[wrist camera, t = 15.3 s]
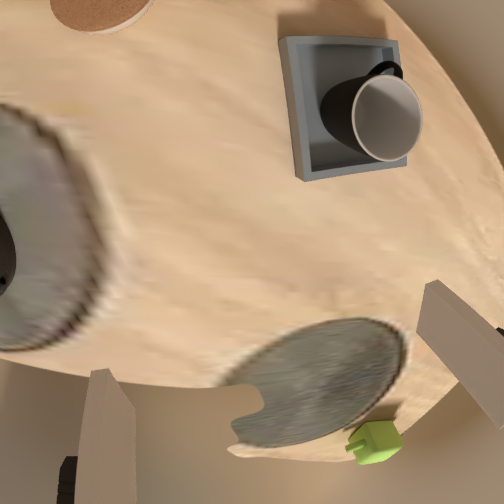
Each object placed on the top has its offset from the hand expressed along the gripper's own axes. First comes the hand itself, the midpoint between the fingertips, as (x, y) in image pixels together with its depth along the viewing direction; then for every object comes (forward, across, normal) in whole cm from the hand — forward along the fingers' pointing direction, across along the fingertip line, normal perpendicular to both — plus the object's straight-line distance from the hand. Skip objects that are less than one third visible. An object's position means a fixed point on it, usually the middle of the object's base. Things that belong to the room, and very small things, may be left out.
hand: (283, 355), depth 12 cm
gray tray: (+29, +18, +7) cm, 35 cm away
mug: (+28, +18, +7) cm, 35 cm away
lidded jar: (+29, -7, +24) cm, 38 cm away
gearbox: (+29, +26, -72) cm, 82 cm away
